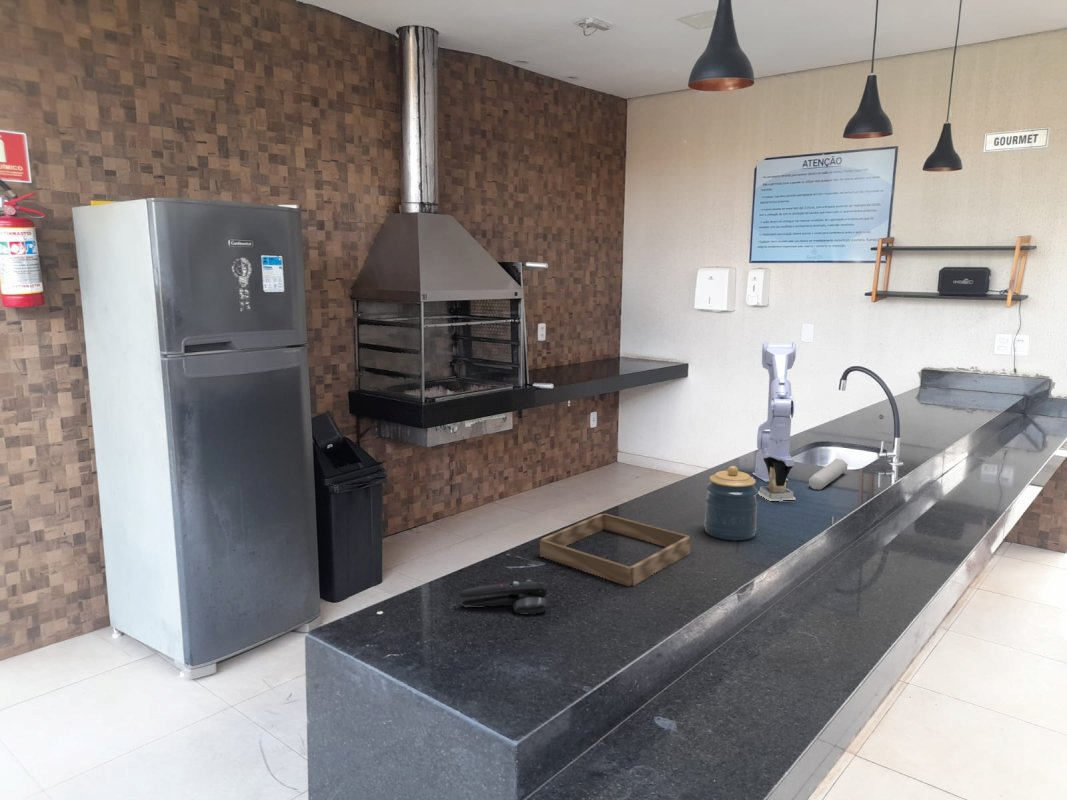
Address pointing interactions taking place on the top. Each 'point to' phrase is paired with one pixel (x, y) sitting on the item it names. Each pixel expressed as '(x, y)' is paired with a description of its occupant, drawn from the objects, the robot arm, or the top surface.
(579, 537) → the wooden frame
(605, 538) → the top surface
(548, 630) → the top surface
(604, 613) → the top surface
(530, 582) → the can opener
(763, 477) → the robot arm
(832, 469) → the tube
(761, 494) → the tile
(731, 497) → the canister
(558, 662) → the top surface
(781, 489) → the wooden block
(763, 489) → the white square tray
